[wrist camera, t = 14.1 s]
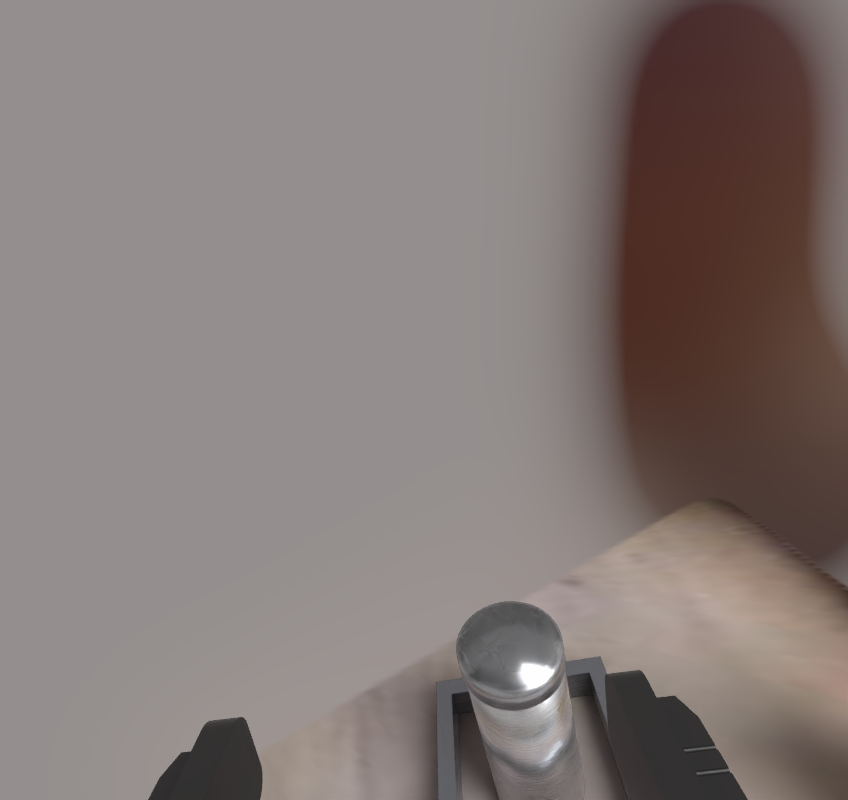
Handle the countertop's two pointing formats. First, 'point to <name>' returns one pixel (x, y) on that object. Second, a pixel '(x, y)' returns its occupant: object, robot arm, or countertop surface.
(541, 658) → the lidded metal canister
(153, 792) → the robot arm
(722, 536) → the countertop surface
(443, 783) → the collar
